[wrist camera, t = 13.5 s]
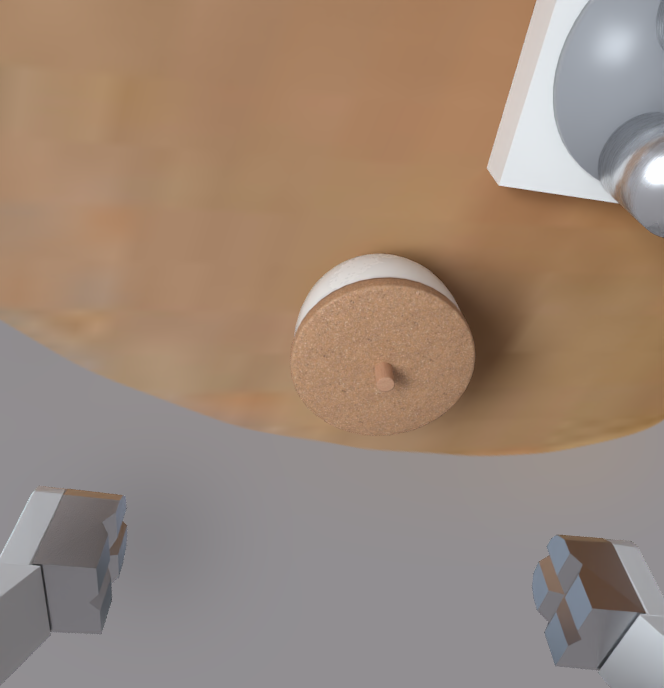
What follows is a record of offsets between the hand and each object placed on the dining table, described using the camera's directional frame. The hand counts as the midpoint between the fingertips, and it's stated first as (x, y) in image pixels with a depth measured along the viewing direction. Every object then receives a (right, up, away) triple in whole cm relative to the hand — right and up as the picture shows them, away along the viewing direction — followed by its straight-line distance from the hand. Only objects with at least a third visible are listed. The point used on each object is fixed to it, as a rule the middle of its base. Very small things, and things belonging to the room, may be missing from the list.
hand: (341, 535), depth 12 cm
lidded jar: (+3, +7, +31) cm, 32 cm away
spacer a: (+17, +14, +22) cm, 30 cm away
